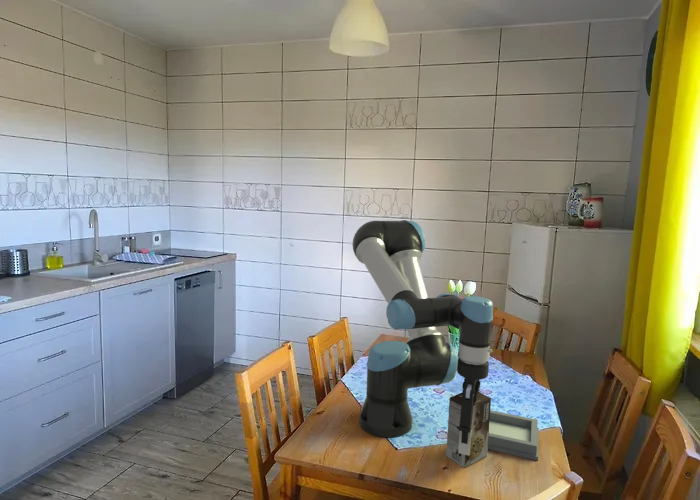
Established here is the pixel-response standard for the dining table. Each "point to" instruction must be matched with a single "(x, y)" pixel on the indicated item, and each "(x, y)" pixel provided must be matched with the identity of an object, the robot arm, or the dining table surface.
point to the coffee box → (478, 428)
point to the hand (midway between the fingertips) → (467, 442)
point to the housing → (513, 435)
